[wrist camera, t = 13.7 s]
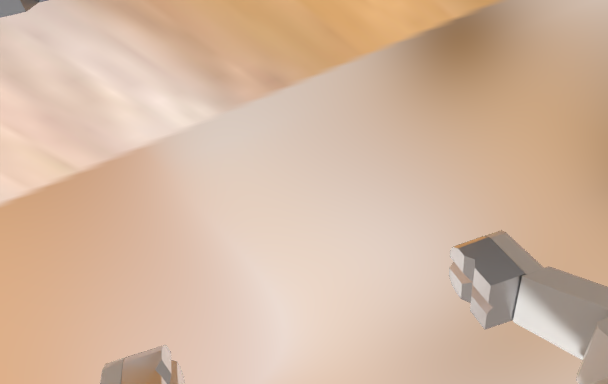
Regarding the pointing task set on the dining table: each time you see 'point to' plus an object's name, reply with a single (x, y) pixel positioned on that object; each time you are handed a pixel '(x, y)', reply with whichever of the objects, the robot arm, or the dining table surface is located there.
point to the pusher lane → (16, 6)
